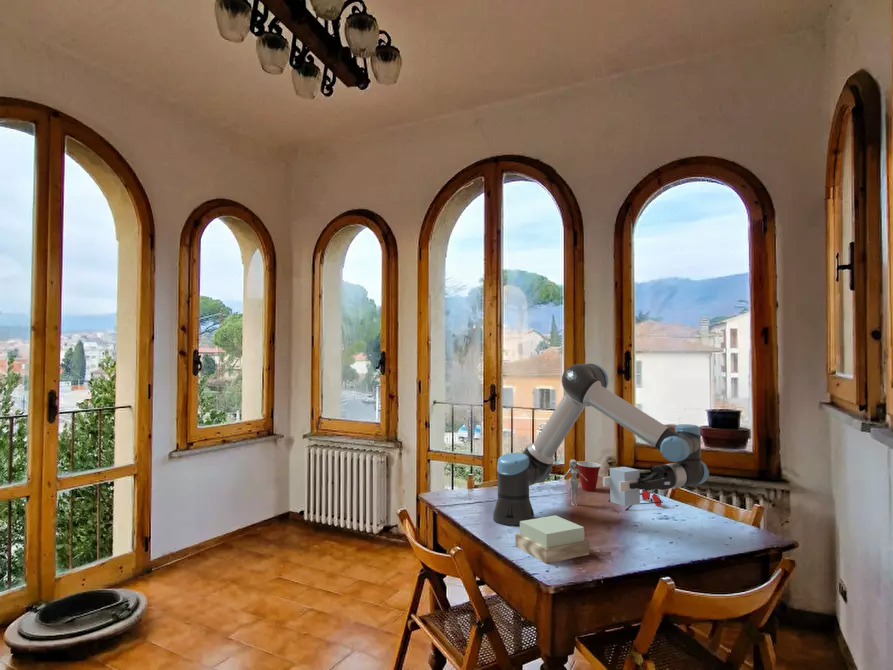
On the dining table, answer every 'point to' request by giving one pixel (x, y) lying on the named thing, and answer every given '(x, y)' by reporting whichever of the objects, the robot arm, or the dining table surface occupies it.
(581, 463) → the plastic cup
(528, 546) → the base brick
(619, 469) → the tall brick
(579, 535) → the top brick
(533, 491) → the dining table surface
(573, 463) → the human figurine
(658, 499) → the glasses
